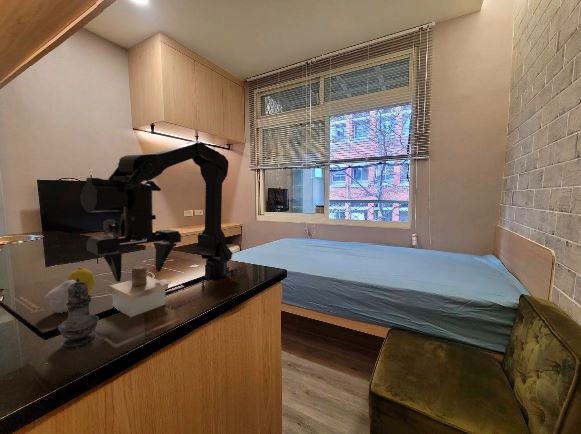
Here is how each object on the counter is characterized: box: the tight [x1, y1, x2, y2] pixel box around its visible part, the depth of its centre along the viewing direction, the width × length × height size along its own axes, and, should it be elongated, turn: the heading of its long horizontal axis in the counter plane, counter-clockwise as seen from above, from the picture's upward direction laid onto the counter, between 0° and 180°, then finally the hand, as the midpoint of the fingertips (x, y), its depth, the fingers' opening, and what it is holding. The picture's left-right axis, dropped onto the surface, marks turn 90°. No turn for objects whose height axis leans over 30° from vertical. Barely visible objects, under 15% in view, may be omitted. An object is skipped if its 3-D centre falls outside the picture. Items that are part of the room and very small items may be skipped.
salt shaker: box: [57, 278, 100, 350], centre depth 47 cm, size 6×6×12 cm
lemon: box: [66, 266, 96, 294], centre depth 66 cm, size 6×6×8 cm
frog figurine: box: [44, 279, 76, 314], centre depth 59 cm, size 6×7×7 cm
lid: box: [108, 265, 168, 300], centre depth 61 cm, size 9×9×5 cm
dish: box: [112, 290, 166, 318], centre depth 62 cm, size 8×8×4 cm
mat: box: [159, 278, 185, 294], centre depth 74 cm, size 10×10×1 cm
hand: (139, 276), depth 61 cm, fingers open, 9 cm apart
